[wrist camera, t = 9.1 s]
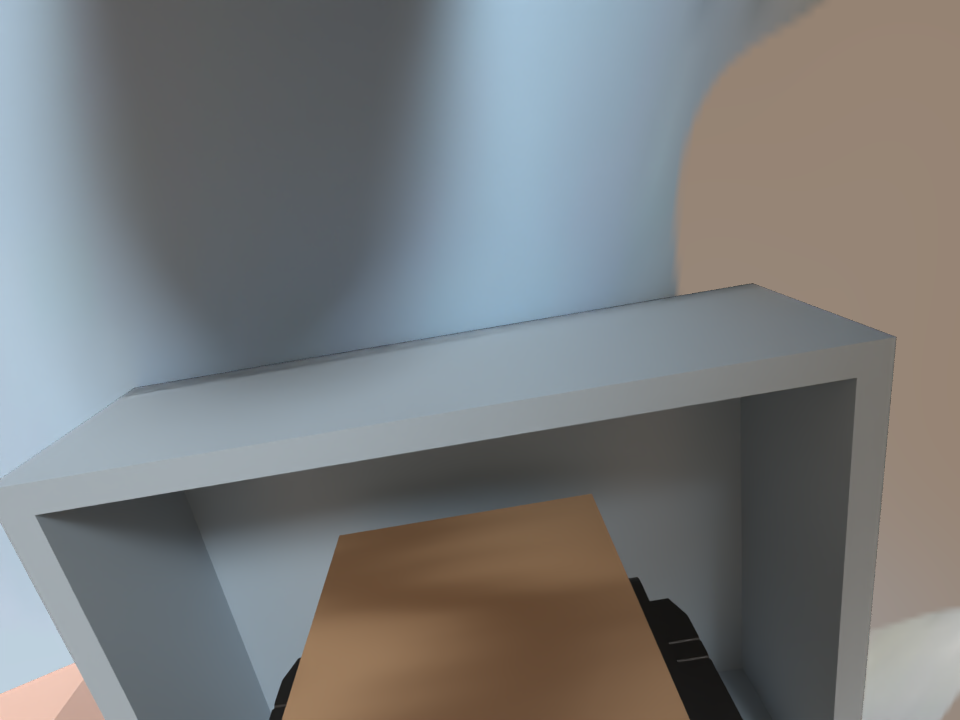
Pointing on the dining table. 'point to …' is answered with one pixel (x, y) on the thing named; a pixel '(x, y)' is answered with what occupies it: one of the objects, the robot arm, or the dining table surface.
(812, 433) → the tote
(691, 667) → the robot arm
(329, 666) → the block
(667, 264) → the dining table surface
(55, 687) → the light box
